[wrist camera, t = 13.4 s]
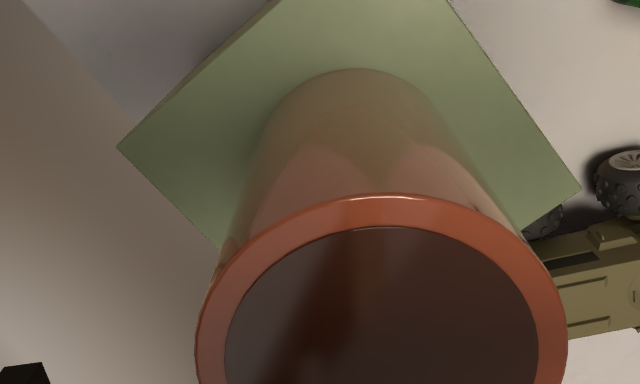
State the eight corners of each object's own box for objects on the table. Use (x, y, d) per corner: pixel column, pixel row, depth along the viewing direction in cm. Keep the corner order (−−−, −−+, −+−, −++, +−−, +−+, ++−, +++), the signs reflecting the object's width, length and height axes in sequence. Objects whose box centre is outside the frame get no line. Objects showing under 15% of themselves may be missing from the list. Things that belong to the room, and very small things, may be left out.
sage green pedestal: (196, 66, 35) (114, 147, 22) (357, -77, 32) (382, -90, 19) (326, 211, 39) (328, 360, 25) (483, 93, 36) (582, 189, 22)
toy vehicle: (473, 179, 38) (535, 278, 27) (655, 138, 37) (797, 223, 26) (496, 317, 42) (558, 452, 31) (662, 283, 41) (787, 411, 30)
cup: (214, 178, 22) (119, 384, 12) (345, 22, 20) (367, 109, 10) (361, 289, 24) (390, 552, 14) (497, 157, 22) (650, 352, 11)
